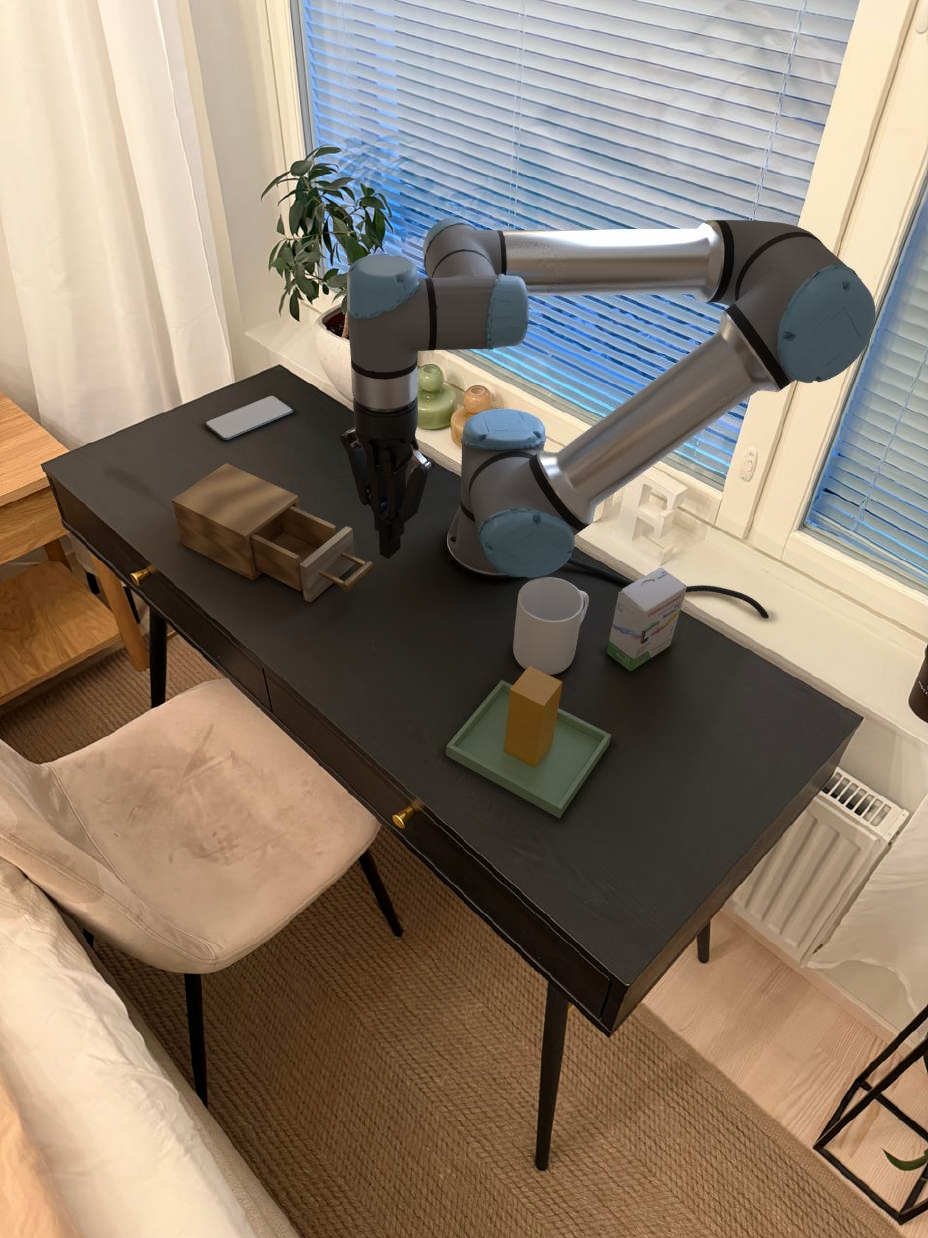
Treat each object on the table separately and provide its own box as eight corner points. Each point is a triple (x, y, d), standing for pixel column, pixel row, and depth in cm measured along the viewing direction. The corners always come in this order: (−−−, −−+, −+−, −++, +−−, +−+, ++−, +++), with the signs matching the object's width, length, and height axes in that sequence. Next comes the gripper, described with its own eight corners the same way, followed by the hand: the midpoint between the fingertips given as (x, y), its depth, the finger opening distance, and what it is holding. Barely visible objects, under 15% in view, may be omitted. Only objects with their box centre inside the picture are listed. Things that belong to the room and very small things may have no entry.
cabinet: (303, 539, 140) (298, 495, 134) (253, 580, 133) (244, 536, 127) (234, 506, 146) (226, 462, 139) (182, 544, 138) (171, 499, 132)
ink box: (630, 673, 122) (645, 612, 114) (604, 652, 125) (617, 590, 117) (672, 645, 126) (689, 584, 118) (646, 625, 129) (661, 564, 121)
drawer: (384, 577, 133) (382, 542, 128) (340, 618, 127) (337, 582, 122) (287, 530, 140) (282, 496, 135) (240, 566, 134) (234, 531, 129)
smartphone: (294, 409, 165) (224, 439, 158) (295, 412, 166) (225, 441, 158) (273, 394, 169) (203, 422, 161) (273, 396, 169) (204, 424, 162)
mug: (604, 648, 125) (615, 593, 118) (540, 687, 120) (548, 631, 112) (563, 614, 130) (571, 558, 123) (499, 649, 125) (504, 593, 117)
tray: (609, 744, 114) (611, 734, 112) (559, 818, 106) (561, 809, 104) (500, 689, 120) (501, 679, 118) (445, 755, 112) (446, 745, 110)
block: (552, 744, 113) (562, 681, 104) (534, 768, 110) (543, 706, 102) (521, 728, 114) (529, 665, 106) (503, 751, 112) (509, 689, 103)
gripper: (450, 400, 103) (446, 554, 120) (360, 365, 108) (368, 519, 124) (412, 429, 99) (413, 586, 115) (320, 392, 103) (334, 547, 120)
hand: (390, 551), depth 120 cm, fingers closed
